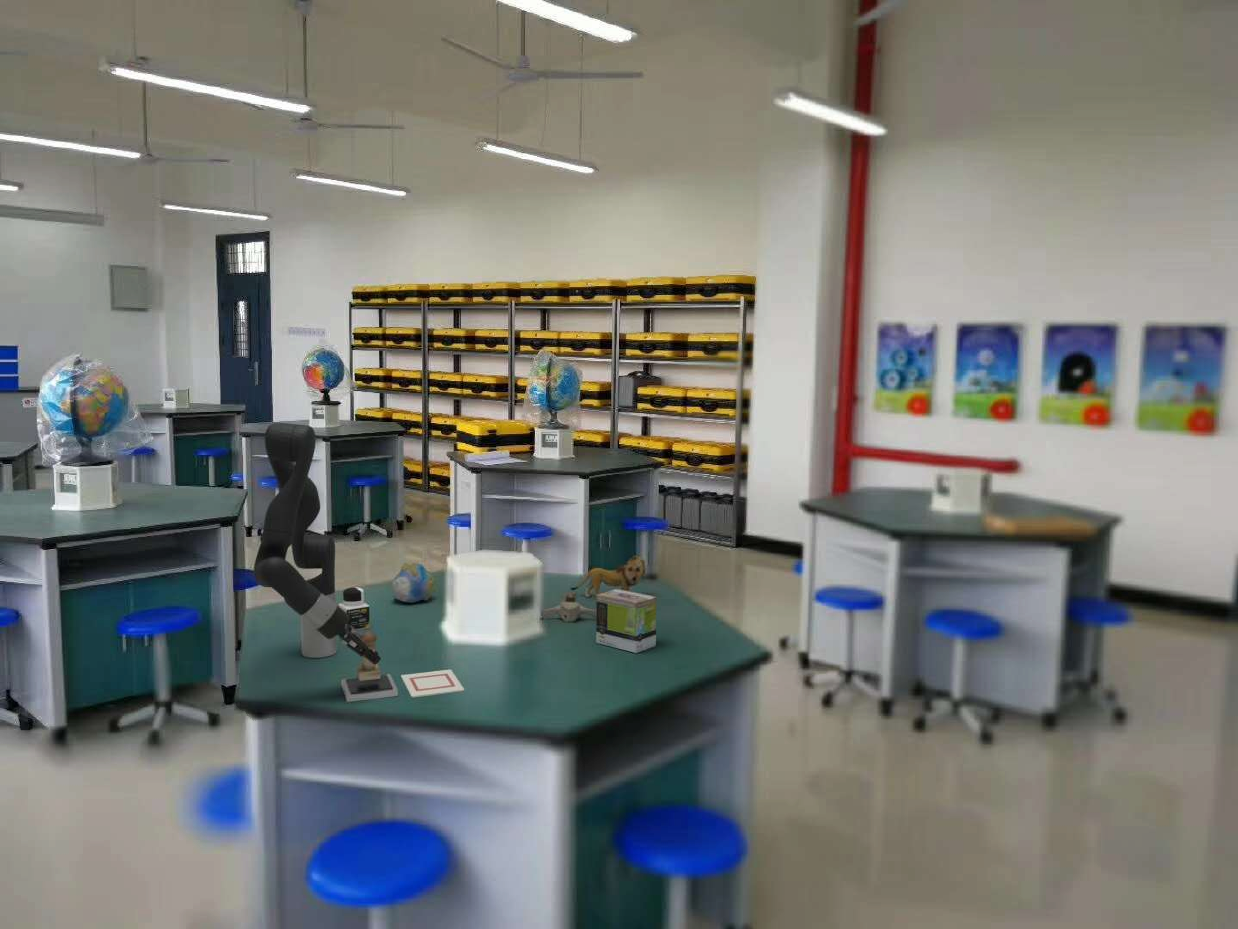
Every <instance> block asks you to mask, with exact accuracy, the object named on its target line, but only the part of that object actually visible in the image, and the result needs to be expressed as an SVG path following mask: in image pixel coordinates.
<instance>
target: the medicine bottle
mask: <svg viewBox="0 0 1238 929" xmlns="http://www.w3.org/2000/svg"><path fill="white" fill-rule="evenodd" d="M342 595H343V597H342V600H343V602H341V603H339V604H337V605H338V606H339V607H340V608H341V609H342V610H344V611H345V612H346V613H347V614H348V615H349V621H348V623H347V624H349V625H351V626H352V627H353V628H354V629H355V630H356V631H359V630H365V629H366V630H367V629H370V628H371V627H370V626H371V625H370V623H371V622H370V605H369V604H367V603H366V602H364V601H365V591H364V589H363V588H361V587H357V586H356V587H355V586H353V587H348V588H345V589H343V592H342ZM347 624H346V625H347Z"/></svg>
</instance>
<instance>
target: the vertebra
mask: <svg viewBox="0 0 1238 929" xmlns="http://www.w3.org/2000/svg"><path fill="white" fill-rule="evenodd" d="M577 597H578V592H577V591H576V592H574V593H572V591H568V592H565V591H564V592H563V601H560V604H559V605H557V606H554V607H551V608H547V609H540V610H541V616H542V618H543V619H545V618H547V617H549V616H552V615H559V617H560V616H561V618H562V620H563V621H564V622H568V623H569V622H572V623H573V622H575V621H576V620H577V619H578V618H579V616H580V615H587V616H590V617H593V618H595V619H596V609H592V608H591V609H590V608H589V607H588V608H587V607H585V606H583V605H581V604H580V603H579V602H577V600H576V599H577Z"/></svg>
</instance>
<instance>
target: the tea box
mask: <svg viewBox="0 0 1238 929" xmlns="http://www.w3.org/2000/svg"><path fill="white" fill-rule="evenodd" d="M595 602H596V609H595V610H596V618H595V619H596V621H595V622H596V623H595V624H596V625H595V626H596V627H595V628H596V629H595V632H596V633H595V635H596V638H595V639H596V642H595V643H597V644H600V645H604V646H606V647H607V646H608V647H611V648H615V649H619V650H623V651H625V652H626V651H627V652H631V653H634V654H638V653H640V652H643V651H646V650H648V649H651V648H654V647H656V645H657V644H656V643H657V596H655V595H649V594H645V593H639V592H634V591H625V590H622V589H619V588H616V589H612V590H609V591H605V592H602V593H598V595H597V598H596V601H595Z"/></svg>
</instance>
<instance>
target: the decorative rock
mask: <svg viewBox="0 0 1238 929" xmlns="http://www.w3.org/2000/svg"><path fill="white" fill-rule="evenodd" d="M393 579H394V581H393V582H392V584H391V585H392V586H391V587H392V593H393V595H394V598H395V599H396V600H398V601H400V602H403V603H408V604H414V603H417V602H419V601H421V600H422V601H427V600H430V598H431V595H433V594H435V593H436V588H435V587H434V584H435V583H436V580H435V578H434V576H433V574H432V573H431V572H430V571H429V570H428V569H426V567H425V566H424V565H423V564H421V563H415V562H414V563H411V564H410V563H407V562H406V563H403V565H402V566H401V567H400V570H399V572H398V573H397V574H396V576H394V578H393Z"/></svg>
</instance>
